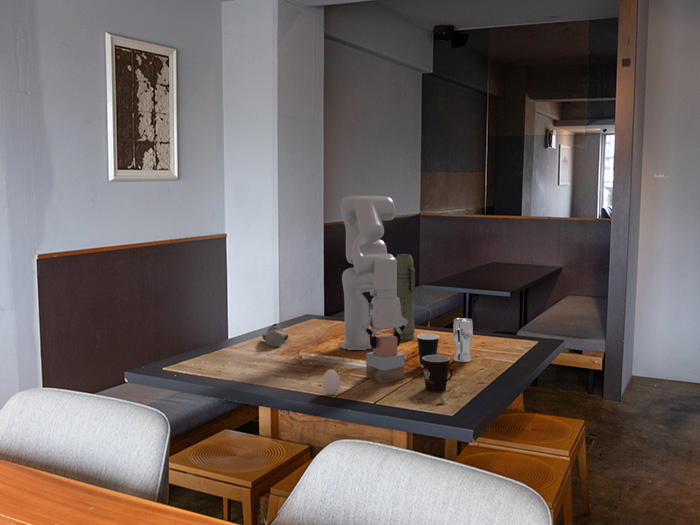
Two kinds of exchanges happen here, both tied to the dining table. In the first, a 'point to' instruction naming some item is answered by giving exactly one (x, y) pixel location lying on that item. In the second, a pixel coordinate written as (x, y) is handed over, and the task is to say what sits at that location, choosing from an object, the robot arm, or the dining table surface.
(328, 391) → the egg
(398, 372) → the walnut block
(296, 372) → the dining table surface
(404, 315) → the thermos
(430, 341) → the dixie cup
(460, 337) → the beer glass
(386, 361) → the slate block
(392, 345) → the rust cube
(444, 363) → the coffee mug
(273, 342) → the ceramic sculpture
